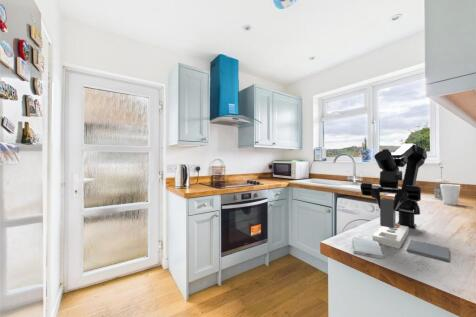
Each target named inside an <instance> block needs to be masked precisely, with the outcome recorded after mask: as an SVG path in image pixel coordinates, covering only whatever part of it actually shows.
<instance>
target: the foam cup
mask: <svg viewBox="0 0 476 317" xmlns="http://www.w3.org/2000/svg"><path fill="white" fill-rule="evenodd" d="M439 186H440V188H441V192H442V197H443V200H442V201H443V204H445V205H449V206H450V205H451V206H452V205H453V206H457V205H458V201H459V197H460V190H461V184H453V183H451V184H450V183H442V184H441V183H440V184H439Z"/></svg>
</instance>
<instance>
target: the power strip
mask: <svg viewBox="0 0 476 317" xmlns="http://www.w3.org/2000/svg"><path fill="white" fill-rule="evenodd" d="M397 223H398V222H397ZM397 223H396V222H395V227H394V228H389V227H384V226H380V227H379V229H377V230H376V231H375V232H374V234H373V235H372V240H374V241H378V243H379V245H383V246H389V247H391V248H395V249H399V250H400V249H401V247H402V246H403V243H404V242H405V240H406V238H407V236H408V234H409V231H410V230H409V228H410V227H407V226H402V225H400V224H397Z"/></svg>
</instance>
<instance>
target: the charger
mask: <svg viewBox="0 0 476 317" xmlns="http://www.w3.org/2000/svg"><path fill="white" fill-rule="evenodd" d="M395 200H396V199H394V198H386V197H382V198H381V199H380V209H379V210H380V211H379V214H380V215H379V217H380V218H379V219H380V220H379V221H380V222H379V224H380V225H379V226H380V227H382V226H384V227H389V228H394V227H395V223H396V212H397V211H395V210H394V205H395Z"/></svg>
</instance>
